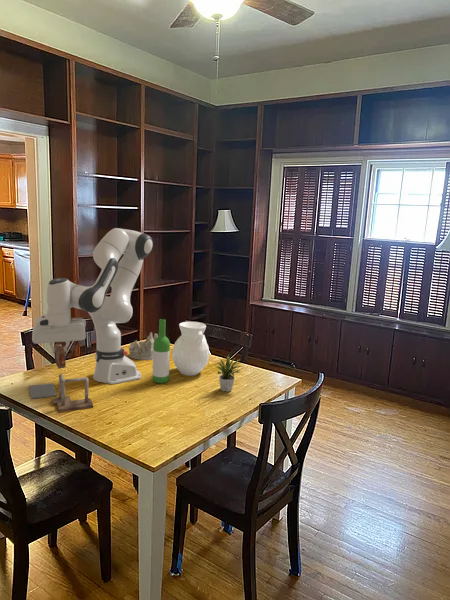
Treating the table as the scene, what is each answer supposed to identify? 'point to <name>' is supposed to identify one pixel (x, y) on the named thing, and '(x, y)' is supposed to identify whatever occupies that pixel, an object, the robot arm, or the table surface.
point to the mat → (42, 390)
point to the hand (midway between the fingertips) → (59, 352)
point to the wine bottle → (161, 355)
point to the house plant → (227, 374)
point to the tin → (60, 356)
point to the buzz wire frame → (65, 402)
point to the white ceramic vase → (191, 348)
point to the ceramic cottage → (143, 348)
